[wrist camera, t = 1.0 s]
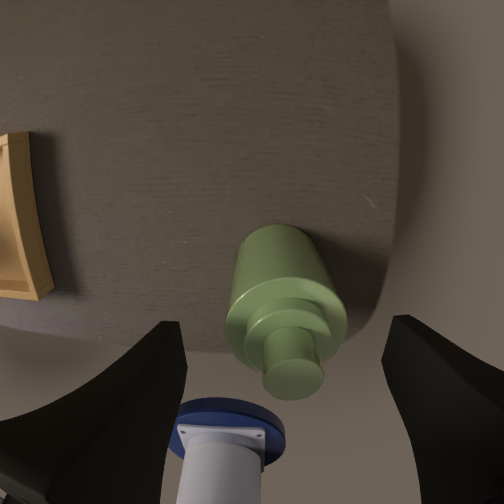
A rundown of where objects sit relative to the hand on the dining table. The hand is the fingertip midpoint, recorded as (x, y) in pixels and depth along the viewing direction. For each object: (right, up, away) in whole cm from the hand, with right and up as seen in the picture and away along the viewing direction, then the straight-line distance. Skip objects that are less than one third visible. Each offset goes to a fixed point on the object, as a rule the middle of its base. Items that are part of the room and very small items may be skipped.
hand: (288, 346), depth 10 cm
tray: (-25, +5, +6) cm, 27 cm away
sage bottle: (0, +2, +6) cm, 7 cm away
